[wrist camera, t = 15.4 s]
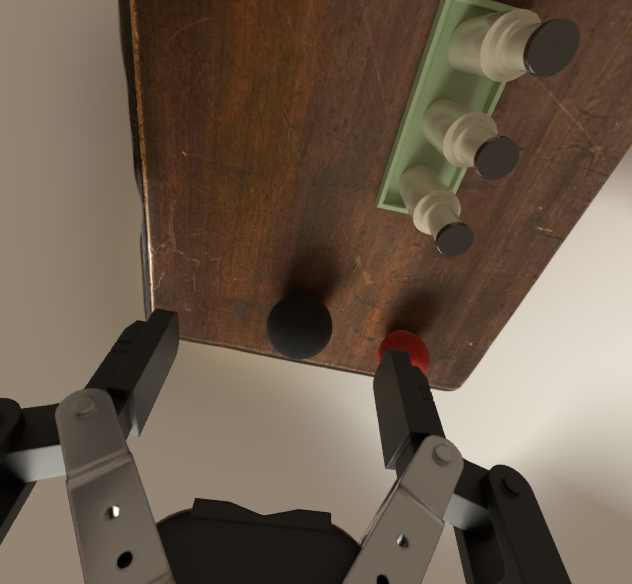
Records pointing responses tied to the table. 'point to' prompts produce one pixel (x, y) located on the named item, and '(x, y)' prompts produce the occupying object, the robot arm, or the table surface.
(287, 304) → the black ball
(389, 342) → the apple
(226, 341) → the table surface
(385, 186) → the tray
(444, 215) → the bottle
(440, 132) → the bottle
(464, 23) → the bottle
